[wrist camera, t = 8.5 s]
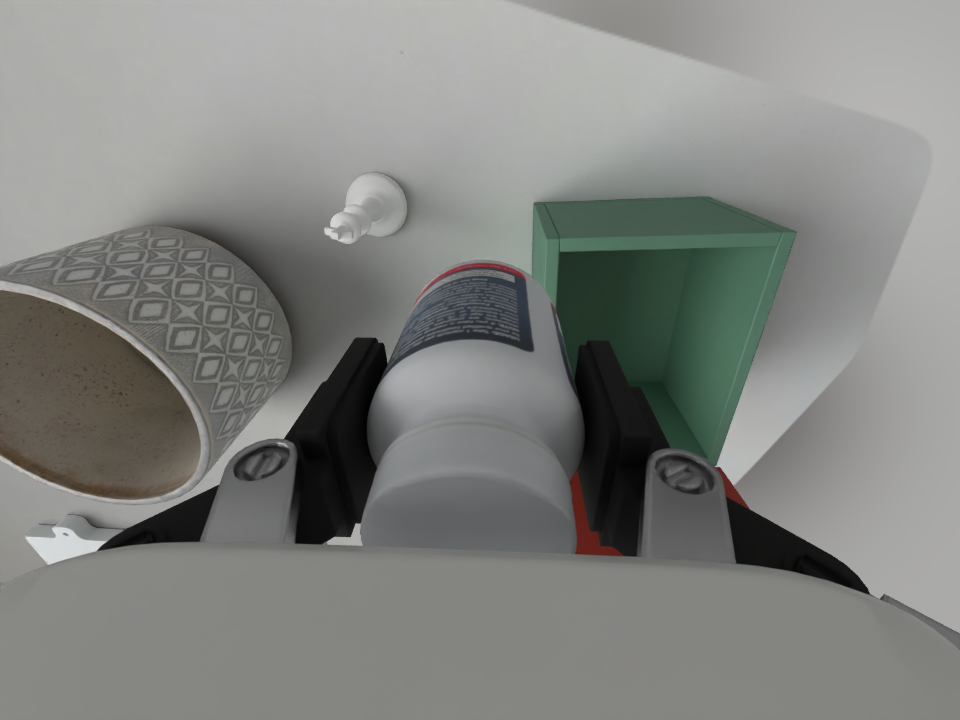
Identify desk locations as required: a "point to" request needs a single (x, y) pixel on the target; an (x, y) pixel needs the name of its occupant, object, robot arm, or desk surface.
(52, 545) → the mounting plate
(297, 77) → the desk surface
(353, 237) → the chess piece
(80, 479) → the planter
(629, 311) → the box
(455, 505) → the pill bottle
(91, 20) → the desk surface
